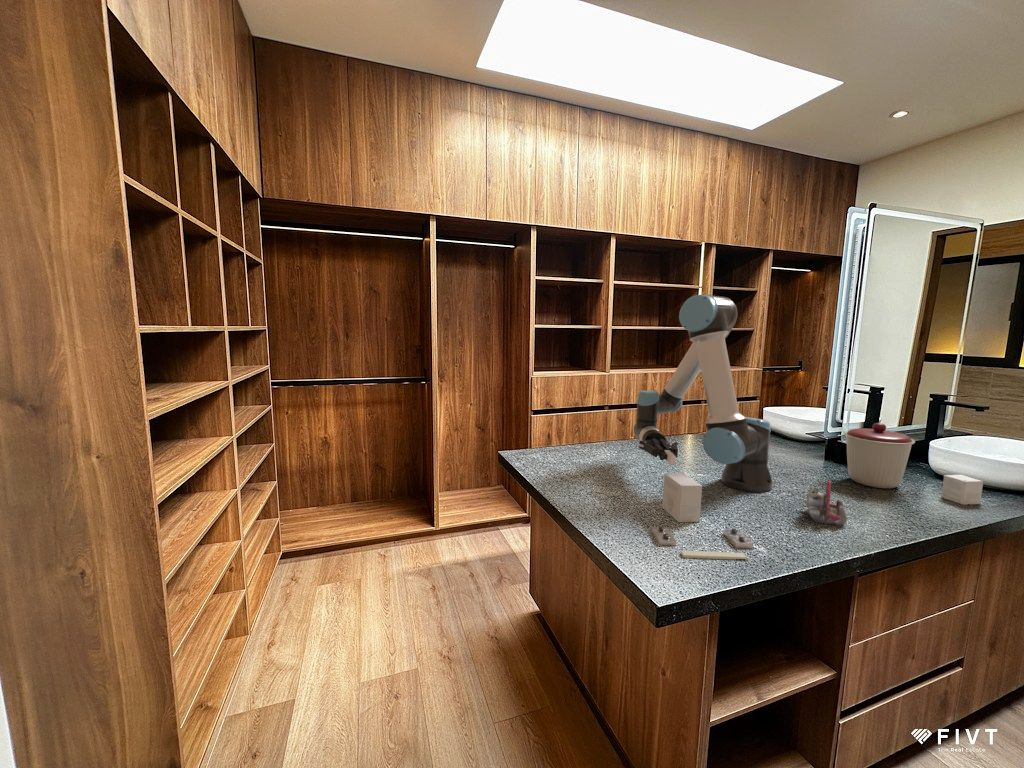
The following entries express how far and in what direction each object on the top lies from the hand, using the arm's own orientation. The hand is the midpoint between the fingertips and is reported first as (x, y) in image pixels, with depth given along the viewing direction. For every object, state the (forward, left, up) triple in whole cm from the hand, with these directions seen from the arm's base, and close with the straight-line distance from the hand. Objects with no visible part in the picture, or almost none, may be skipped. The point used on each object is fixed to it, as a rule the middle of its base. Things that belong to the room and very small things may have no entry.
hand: (673, 460), depth 125 cm
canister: (-75, -23, -14) cm, 79 cm away
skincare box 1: (-1, +7, -14) cm, 15 cm away
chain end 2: (-10, +22, -13) cm, 27 cm away
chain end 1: (+8, +22, -13) cm, 27 cm away
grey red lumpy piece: (-39, +7, -14) cm, 42 cm away
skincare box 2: (-90, -9, -14) cm, 91 cm away
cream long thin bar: (-1, +30, -13) cm, 33 cm away
